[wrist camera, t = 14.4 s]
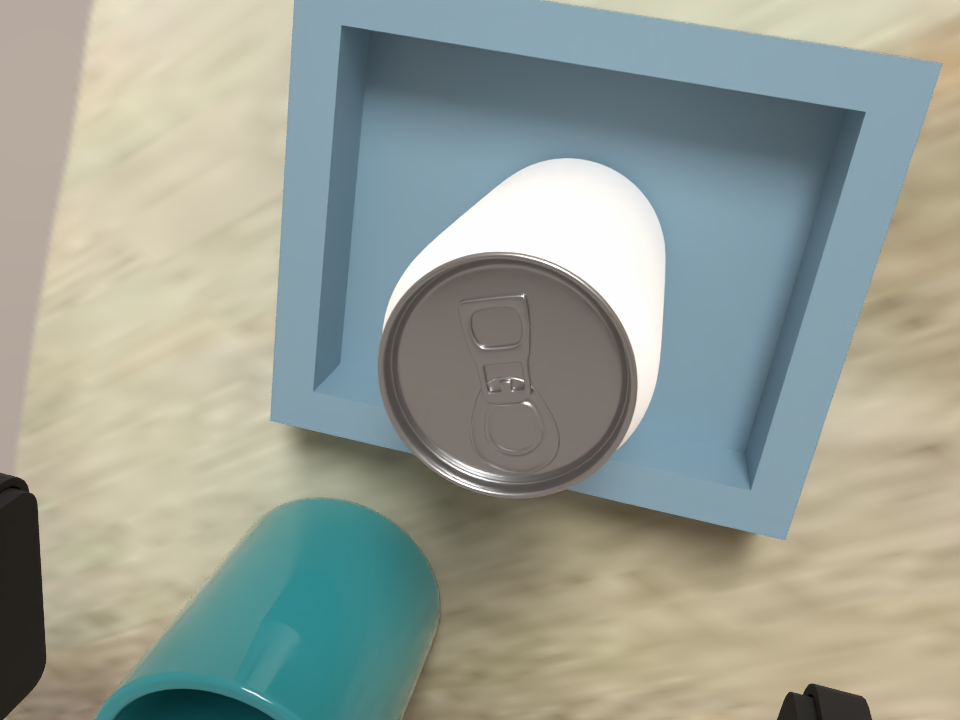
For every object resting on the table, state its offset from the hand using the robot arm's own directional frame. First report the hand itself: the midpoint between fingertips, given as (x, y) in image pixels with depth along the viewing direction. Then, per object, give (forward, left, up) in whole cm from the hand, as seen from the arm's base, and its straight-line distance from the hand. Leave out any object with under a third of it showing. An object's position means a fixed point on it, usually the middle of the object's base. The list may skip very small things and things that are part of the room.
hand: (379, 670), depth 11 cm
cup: (+7, +18, -22) cm, 29 cm away
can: (0, 0, -21) cm, 21 cm away
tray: (0, 0, -22) cm, 22 cm away
